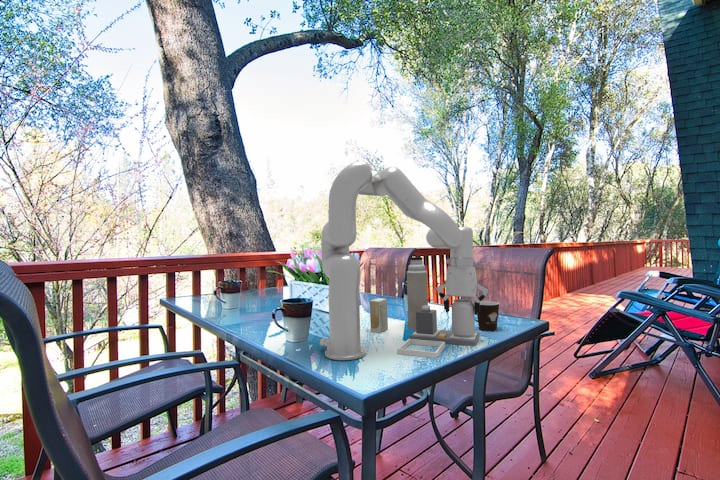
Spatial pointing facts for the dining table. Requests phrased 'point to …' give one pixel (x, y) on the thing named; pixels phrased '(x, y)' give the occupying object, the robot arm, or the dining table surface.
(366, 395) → the dining table surface
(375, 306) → the skincare box
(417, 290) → the thermos bottle
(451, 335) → the grey flat piece
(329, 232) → the robot arm
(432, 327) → the plug block
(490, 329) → the coffee mug
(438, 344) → the tray
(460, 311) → the can
